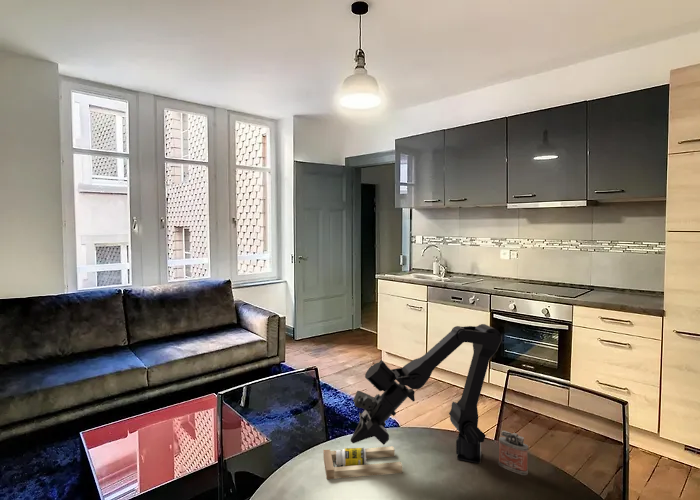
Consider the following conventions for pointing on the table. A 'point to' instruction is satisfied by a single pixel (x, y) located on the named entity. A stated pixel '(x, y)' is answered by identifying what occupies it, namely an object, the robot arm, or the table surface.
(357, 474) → the cradle
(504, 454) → the lighter
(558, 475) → the table surface
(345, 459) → the supplement bottle
